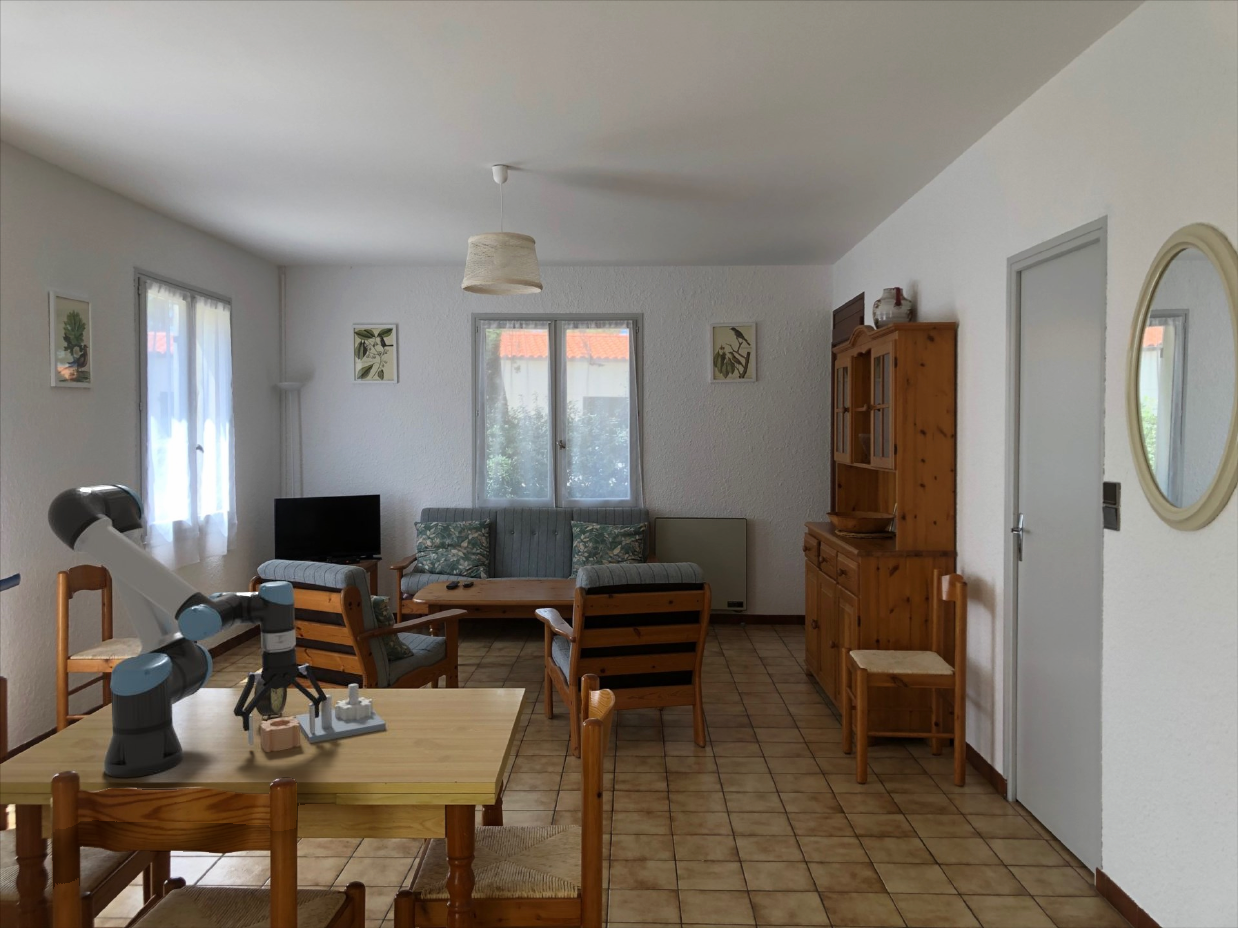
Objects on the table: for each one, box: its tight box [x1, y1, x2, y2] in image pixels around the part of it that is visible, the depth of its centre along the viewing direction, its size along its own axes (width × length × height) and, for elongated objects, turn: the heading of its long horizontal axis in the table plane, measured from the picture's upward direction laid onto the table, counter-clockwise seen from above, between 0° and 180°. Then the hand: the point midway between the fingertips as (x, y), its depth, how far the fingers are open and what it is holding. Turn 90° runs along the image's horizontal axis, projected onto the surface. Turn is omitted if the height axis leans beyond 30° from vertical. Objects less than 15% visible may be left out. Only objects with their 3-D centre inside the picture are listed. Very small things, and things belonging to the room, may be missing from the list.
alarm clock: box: [253, 678, 288, 721], centre depth 220 cm, size 11×5×16 cm, turn 0°
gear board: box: [294, 683, 387, 744], centre depth 214 cm, size 18×18×9 cm
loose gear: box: [259, 715, 301, 753], centre depth 202 cm, size 8×8×5 cm
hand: (282, 737), depth 202 cm, fingers open, 13 cm apart
